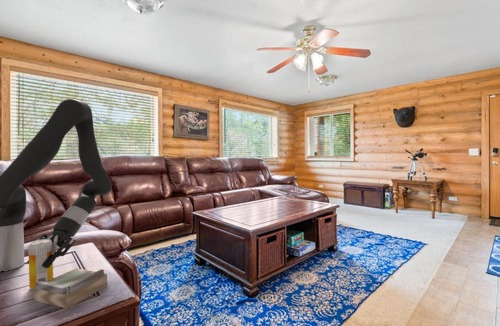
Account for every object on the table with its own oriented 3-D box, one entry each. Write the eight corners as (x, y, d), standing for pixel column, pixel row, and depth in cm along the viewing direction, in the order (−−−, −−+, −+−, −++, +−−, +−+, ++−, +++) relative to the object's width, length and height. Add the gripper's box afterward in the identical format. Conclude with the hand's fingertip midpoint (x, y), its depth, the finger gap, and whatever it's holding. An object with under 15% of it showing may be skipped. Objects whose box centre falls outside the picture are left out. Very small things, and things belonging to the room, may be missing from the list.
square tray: (33, 300, 73) (32, 281, 73) (76, 279, 86) (75, 263, 85) (67, 309, 69) (66, 289, 69) (107, 285, 82) (106, 268, 81)
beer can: (50, 279, 86) (49, 237, 85) (55, 285, 82) (54, 241, 81) (27, 286, 81) (26, 242, 81) (31, 293, 77) (30, 246, 77)
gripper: (50, 214, 91) (12, 258, 80) (79, 217, 86) (43, 264, 75) (65, 224, 96) (31, 267, 85) (93, 227, 92) (61, 273, 81)
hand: (37, 265), depth 80 cm, fingers open, 6 cm apart
